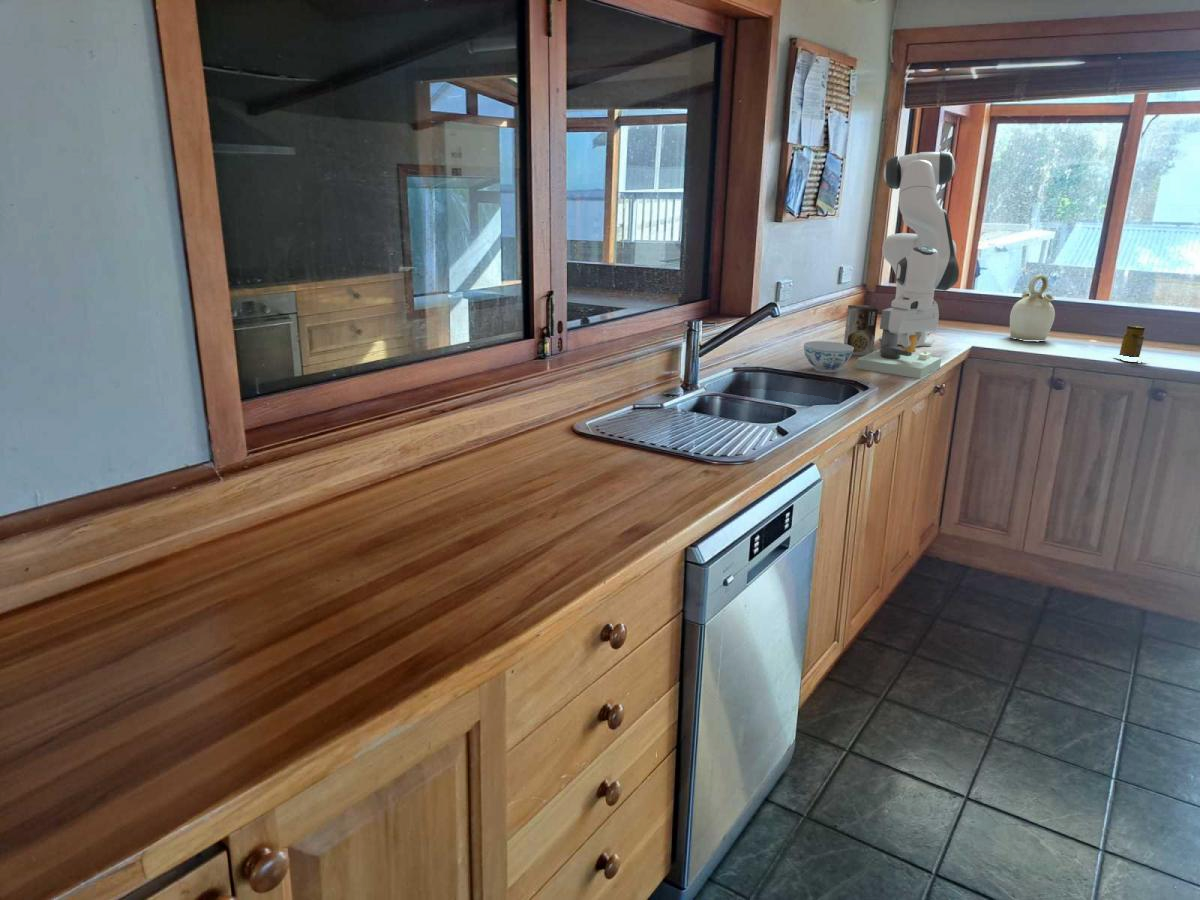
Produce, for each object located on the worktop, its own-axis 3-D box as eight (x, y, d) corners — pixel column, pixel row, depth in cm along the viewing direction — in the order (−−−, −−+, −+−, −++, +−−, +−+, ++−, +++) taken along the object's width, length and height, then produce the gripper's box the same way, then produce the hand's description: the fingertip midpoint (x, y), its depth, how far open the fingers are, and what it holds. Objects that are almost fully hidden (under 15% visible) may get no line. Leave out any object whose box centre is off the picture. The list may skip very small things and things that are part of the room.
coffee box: (868, 352, 294) (875, 305, 289) (872, 356, 288) (879, 308, 283) (842, 351, 295) (847, 304, 290) (845, 354, 289) (851, 307, 284)
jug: (1057, 344, 324) (1070, 277, 316) (1016, 342, 324) (1029, 276, 316) (1038, 336, 339) (1050, 273, 331) (999, 335, 339) (1010, 271, 331)
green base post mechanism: (878, 357, 286) (885, 307, 280) (939, 367, 275) (948, 314, 270) (855, 368, 268) (862, 314, 263) (920, 378, 258) (929, 322, 252)
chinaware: (848, 378, 255) (851, 352, 252) (797, 372, 260) (800, 347, 257) (852, 368, 268) (855, 344, 266) (804, 363, 273) (807, 339, 271)
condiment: (1131, 358, 301) (1139, 325, 298) (1147, 363, 293) (1155, 329, 289) (1111, 358, 301) (1119, 324, 297) (1126, 363, 293) (1134, 328, 289)
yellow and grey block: (876, 355, 273) (880, 330, 271) (888, 353, 276) (892, 329, 274) (906, 362, 264) (910, 336, 262) (918, 360, 267) (922, 335, 265)
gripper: (929, 298, 269) (922, 341, 273) (887, 301, 258) (881, 346, 262) (946, 301, 264) (939, 345, 269) (905, 304, 253) (898, 350, 257)
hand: (910, 346), depth 265 cm, fingers closed on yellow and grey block, 3 cm apart
